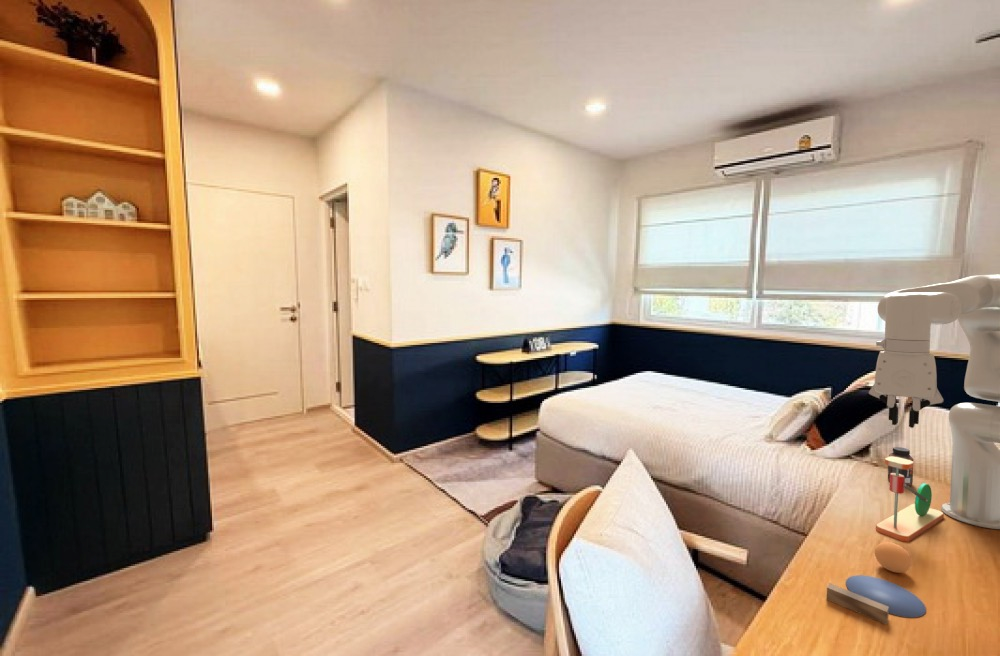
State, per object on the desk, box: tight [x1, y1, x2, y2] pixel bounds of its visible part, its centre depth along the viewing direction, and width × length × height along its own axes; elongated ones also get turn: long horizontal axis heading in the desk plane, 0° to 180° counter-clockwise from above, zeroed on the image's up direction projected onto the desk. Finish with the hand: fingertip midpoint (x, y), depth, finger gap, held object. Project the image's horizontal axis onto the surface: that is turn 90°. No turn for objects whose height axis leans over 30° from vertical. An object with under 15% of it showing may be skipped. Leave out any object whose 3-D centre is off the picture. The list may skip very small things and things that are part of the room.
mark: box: [845, 574, 927, 618], centre depth 85 cm, size 12×12×1 cm
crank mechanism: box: [875, 456, 945, 542], centre depth 111 cm, size 25×7×19 cm, turn 118°
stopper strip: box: [826, 583, 890, 626], centre depth 82 cm, size 9×2×2 cm, turn 40°
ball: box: [874, 541, 913, 574], centre depth 93 cm, size 6×6×6 cm
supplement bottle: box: [887, 446, 914, 487], centre depth 136 cm, size 6×6×11 cm
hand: (903, 424), depth 97 cm, fingers closed
